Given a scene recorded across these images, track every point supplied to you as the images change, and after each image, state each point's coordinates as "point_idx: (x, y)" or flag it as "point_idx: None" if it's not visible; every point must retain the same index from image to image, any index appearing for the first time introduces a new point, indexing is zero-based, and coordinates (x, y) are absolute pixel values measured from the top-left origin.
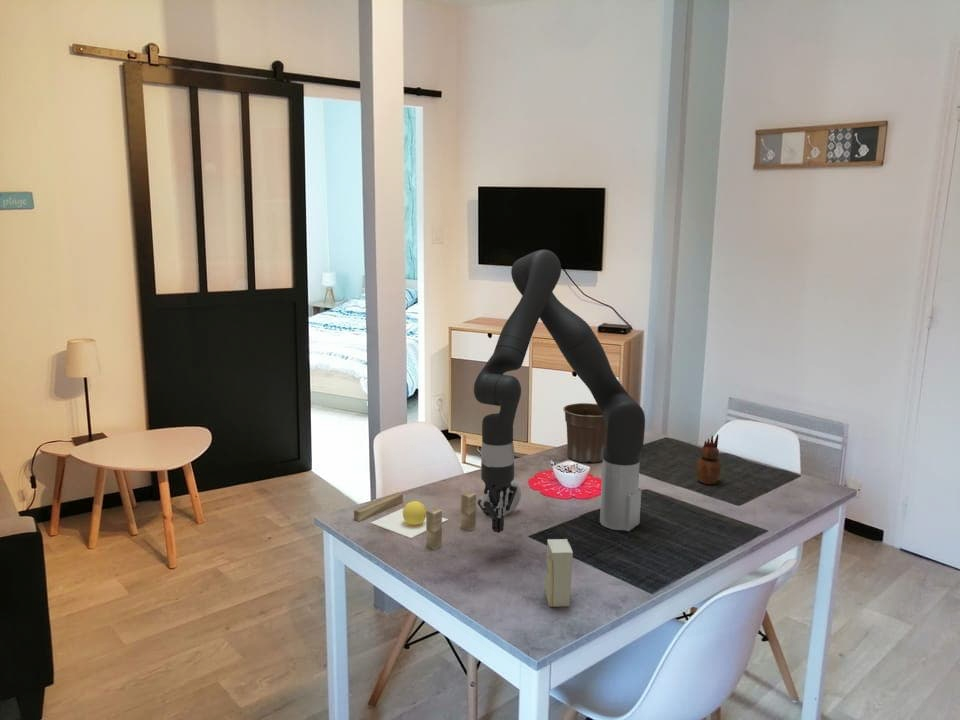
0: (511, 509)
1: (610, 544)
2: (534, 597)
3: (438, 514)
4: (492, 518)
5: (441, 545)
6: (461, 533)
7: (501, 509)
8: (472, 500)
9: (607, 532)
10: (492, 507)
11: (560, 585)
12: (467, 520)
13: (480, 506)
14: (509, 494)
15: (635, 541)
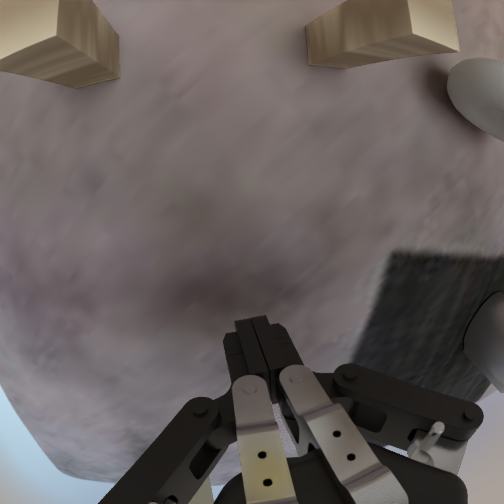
0: (479, 127)
1: (416, 373)
2: (143, 438)
3: (28, 54)
4: (232, 383)
5: (118, 77)
6: (270, 52)
7: (290, 432)
8: (414, 45)
9: (455, 337)
10: (188, 500)
11: None
12: (328, 47)
13: (117, 490)
14: (406, 442)
15: (435, 378)
